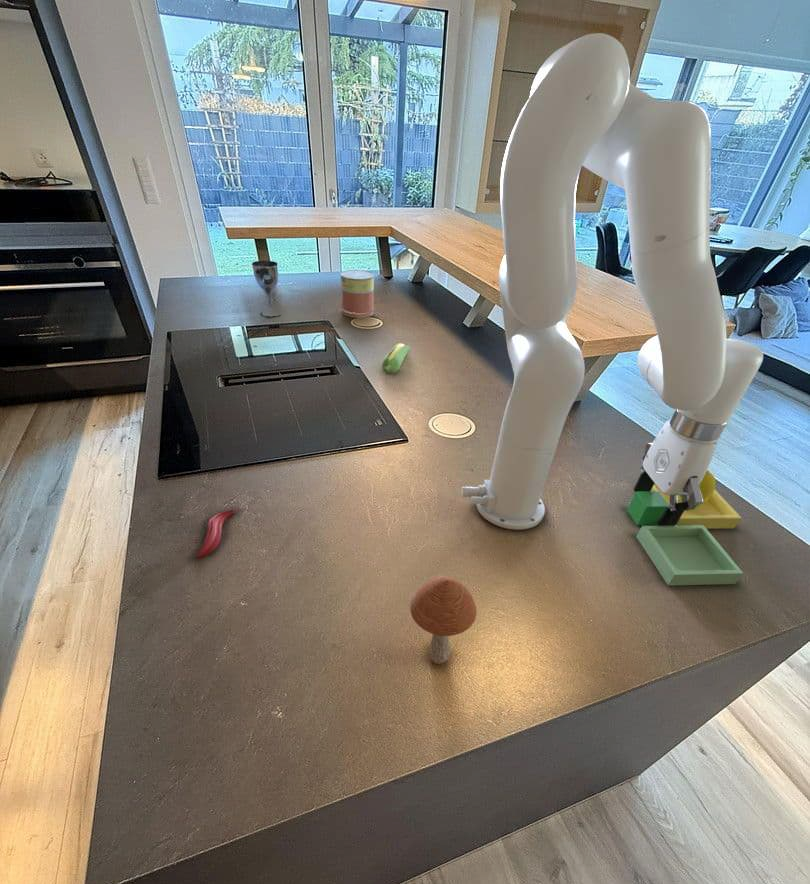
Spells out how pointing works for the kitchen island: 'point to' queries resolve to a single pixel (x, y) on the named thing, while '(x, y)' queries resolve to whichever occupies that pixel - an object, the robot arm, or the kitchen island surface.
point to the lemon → (706, 486)
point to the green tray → (688, 555)
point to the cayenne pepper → (214, 533)
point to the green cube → (647, 507)
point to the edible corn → (395, 358)
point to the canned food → (357, 292)
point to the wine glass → (266, 276)
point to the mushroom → (443, 613)
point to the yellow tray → (707, 512)
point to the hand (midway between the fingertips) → (653, 507)
